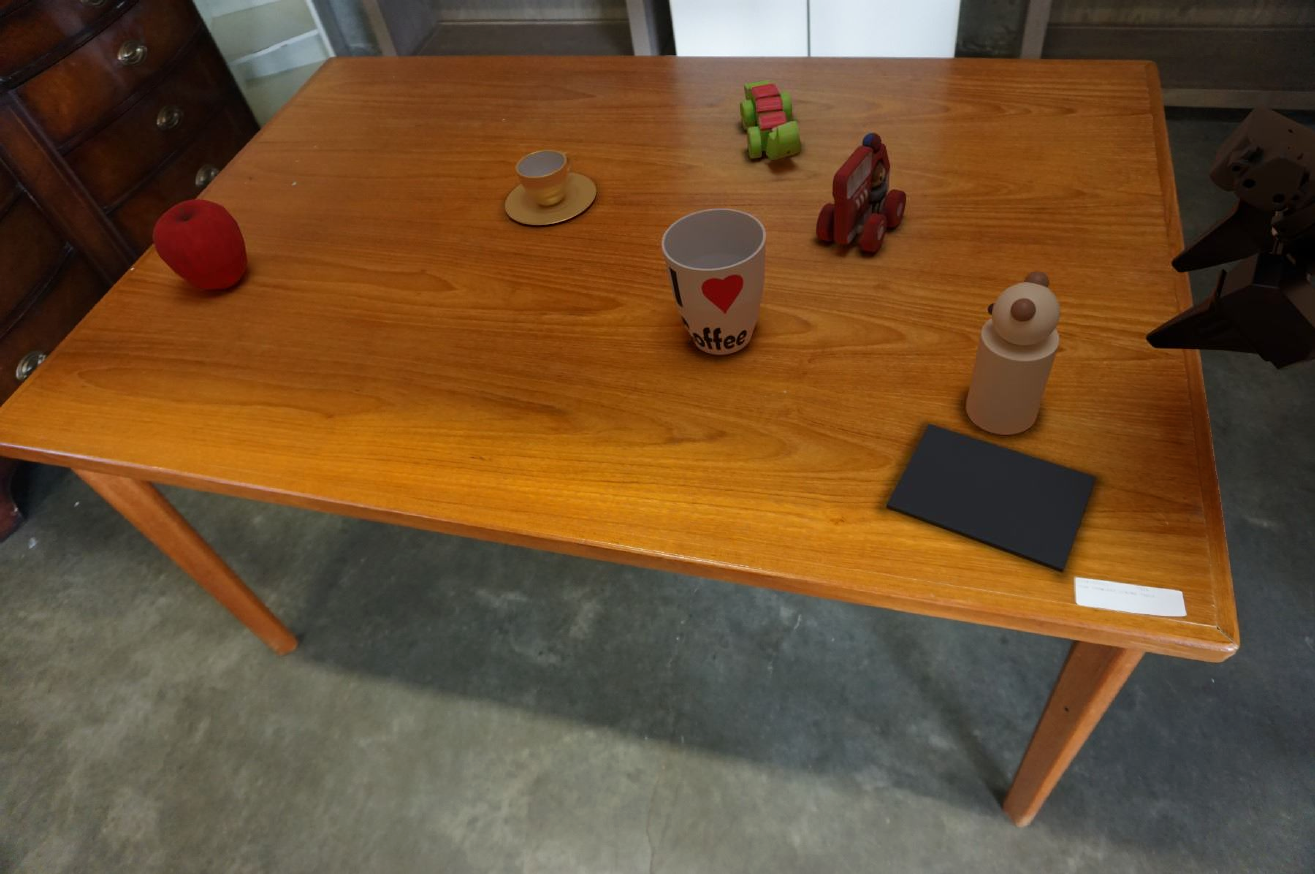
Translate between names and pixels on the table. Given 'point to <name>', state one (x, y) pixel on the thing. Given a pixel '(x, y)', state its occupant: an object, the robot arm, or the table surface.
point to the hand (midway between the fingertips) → (1162, 303)
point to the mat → (994, 495)
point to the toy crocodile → (769, 121)
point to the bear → (1014, 357)
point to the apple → (201, 244)
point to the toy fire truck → (862, 198)
